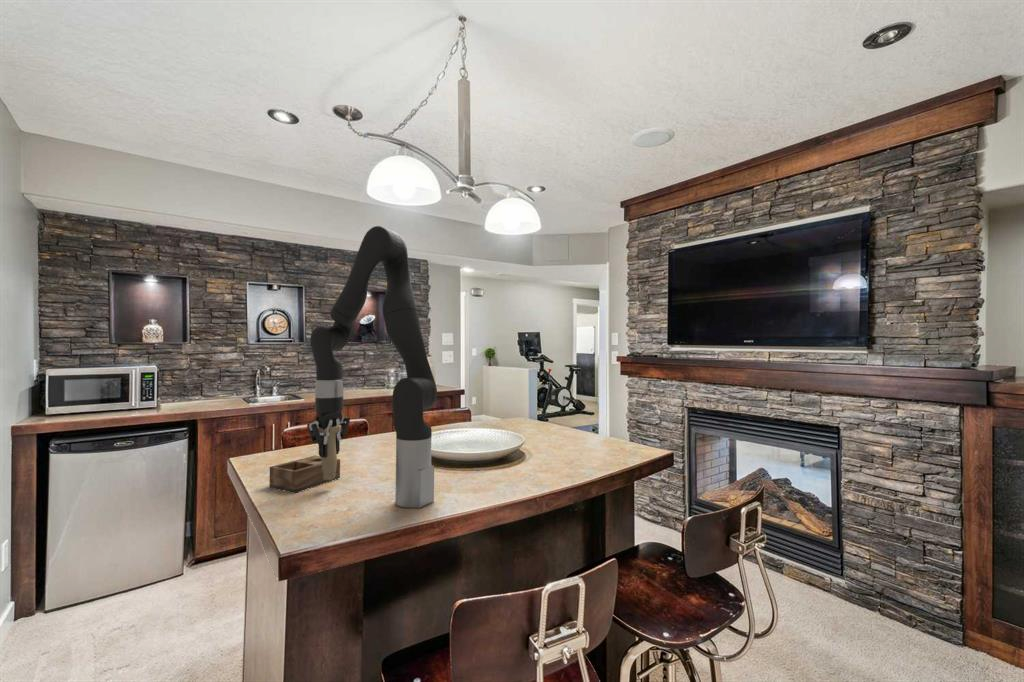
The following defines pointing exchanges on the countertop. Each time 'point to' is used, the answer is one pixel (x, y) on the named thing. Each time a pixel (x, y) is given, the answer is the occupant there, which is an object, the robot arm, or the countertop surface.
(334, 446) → the handle
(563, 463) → the countertop surface
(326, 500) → the countertop surface
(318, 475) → the socket block
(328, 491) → the countertop surface
